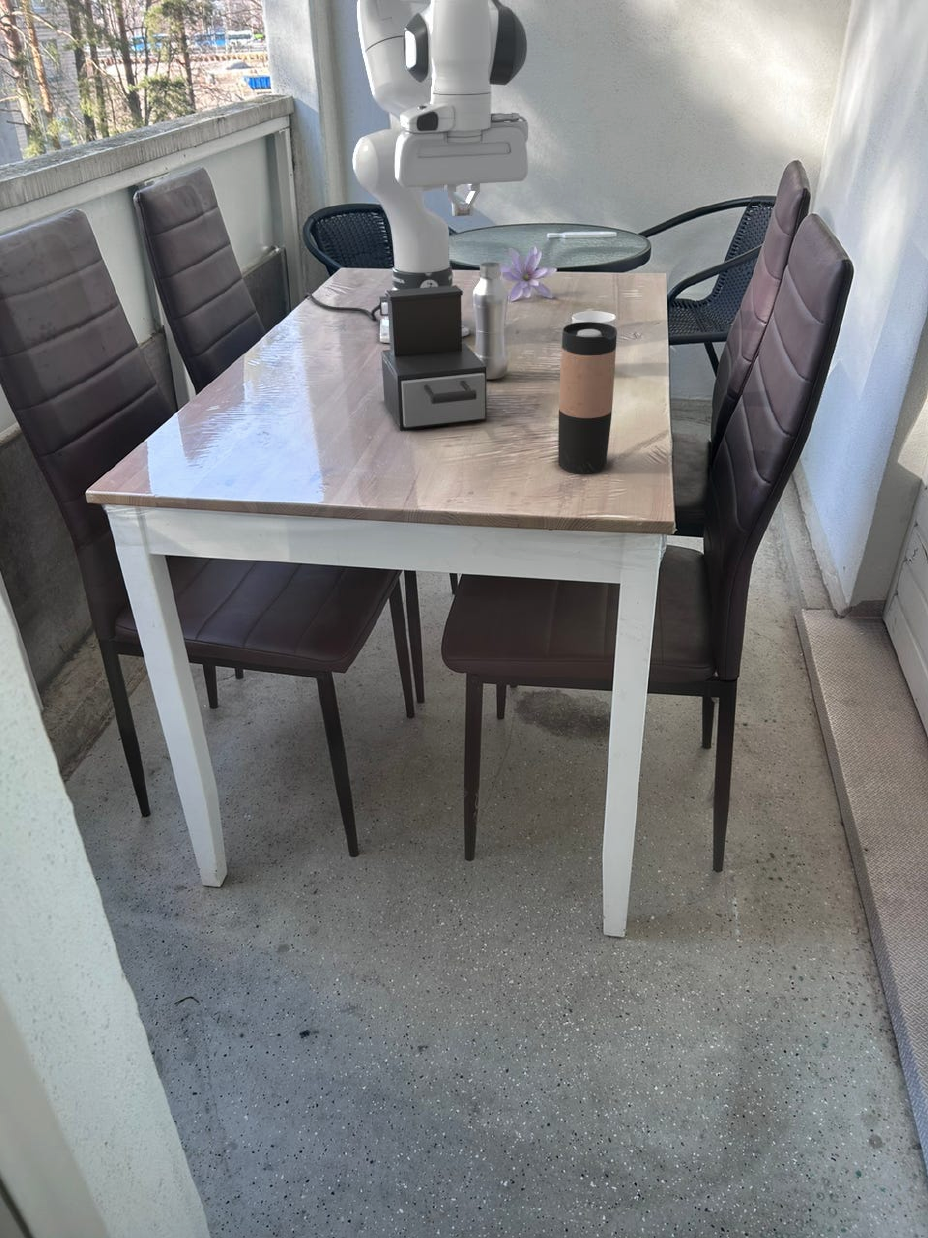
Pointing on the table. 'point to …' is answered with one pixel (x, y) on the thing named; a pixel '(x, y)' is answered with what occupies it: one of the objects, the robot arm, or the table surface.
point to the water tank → (425, 320)
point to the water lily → (526, 274)
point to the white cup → (594, 317)
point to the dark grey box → (425, 376)
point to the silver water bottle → (491, 320)
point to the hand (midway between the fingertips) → (462, 215)
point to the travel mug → (586, 396)
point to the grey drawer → (443, 399)
